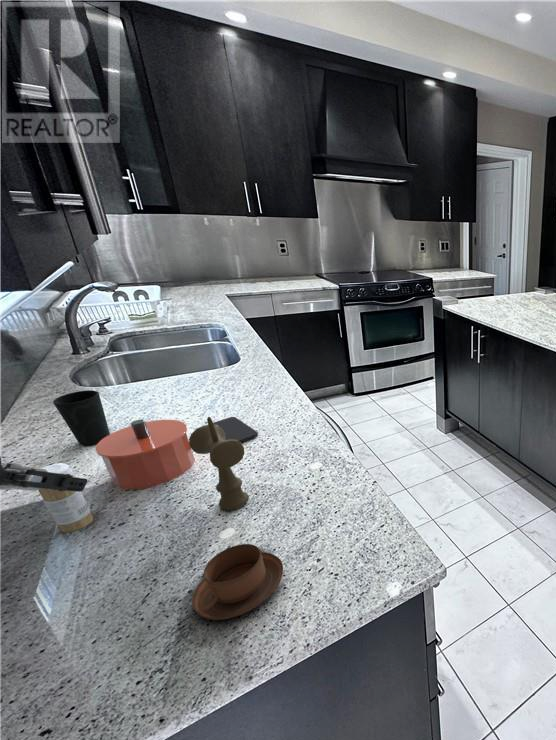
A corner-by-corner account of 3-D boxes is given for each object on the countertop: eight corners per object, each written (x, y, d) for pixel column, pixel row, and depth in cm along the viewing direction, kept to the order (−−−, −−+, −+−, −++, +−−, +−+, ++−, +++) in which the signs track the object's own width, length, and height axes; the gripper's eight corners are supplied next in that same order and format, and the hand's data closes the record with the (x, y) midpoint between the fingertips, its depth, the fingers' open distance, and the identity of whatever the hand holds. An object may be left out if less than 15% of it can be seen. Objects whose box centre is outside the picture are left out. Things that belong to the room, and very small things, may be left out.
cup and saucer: (263, 624, 59) (254, 595, 56) (176, 629, 58) (162, 599, 55) (297, 559, 70) (290, 531, 67) (224, 561, 69) (214, 534, 66)
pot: (202, 476, 89) (189, 440, 85) (119, 504, 80) (101, 465, 76) (190, 451, 98) (178, 416, 94) (114, 473, 89) (98, 436, 85)
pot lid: (193, 442, 85) (187, 423, 84) (98, 470, 76) (89, 449, 74) (181, 417, 95) (175, 399, 93) (95, 439, 85) (87, 420, 83)
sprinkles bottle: (81, 521, 76) (50, 461, 70) (104, 522, 76) (75, 463, 70) (54, 539, 72) (20, 477, 66) (79, 540, 72) (47, 479, 66)
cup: (107, 429, 105) (89, 387, 100) (122, 437, 102) (105, 394, 97) (67, 443, 99) (46, 399, 94) (82, 451, 96) (61, 407, 91)
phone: (233, 415, 112) (259, 432, 105) (234, 418, 113) (260, 435, 105) (202, 426, 107) (227, 444, 99) (203, 428, 107) (228, 447, 99)
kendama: (239, 486, 87) (215, 403, 78) (262, 505, 82) (238, 418, 74) (207, 501, 82) (178, 415, 74) (229, 522, 77) (200, 432, 69)
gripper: (-4, 444, 56) (108, 465, 71) (-96, 436, 57) (34, 458, 72) (-35, 500, 53) (89, 509, 68) (-131, 491, 54) (12, 502, 69)
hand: (61, 483), depth 70 cm, fingers open, 8 cm apart
